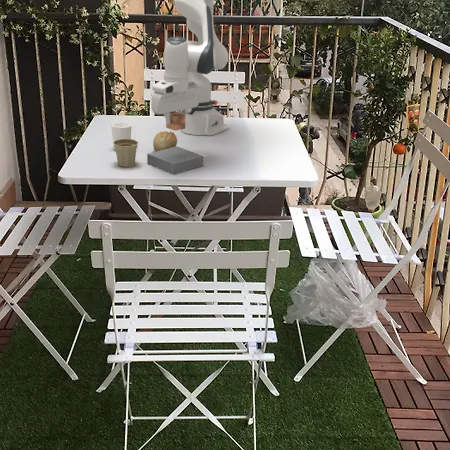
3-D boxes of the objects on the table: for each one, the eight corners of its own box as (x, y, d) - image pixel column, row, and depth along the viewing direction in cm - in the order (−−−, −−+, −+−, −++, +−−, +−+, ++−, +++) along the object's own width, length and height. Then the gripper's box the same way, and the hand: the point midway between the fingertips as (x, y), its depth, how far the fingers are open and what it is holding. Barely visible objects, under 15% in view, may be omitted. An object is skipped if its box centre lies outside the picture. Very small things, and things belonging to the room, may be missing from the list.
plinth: (176, 155, 233) (177, 146, 231) (203, 165, 224) (203, 155, 222) (147, 163, 223) (147, 153, 222) (173, 174, 214) (173, 164, 212)
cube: (176, 125, 221) (176, 112, 218) (185, 128, 217) (185, 115, 215) (166, 127, 217) (166, 114, 215) (175, 130, 214) (175, 117, 212)
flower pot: (127, 170, 216) (127, 147, 212) (108, 165, 220) (107, 142, 217) (144, 163, 223) (143, 141, 220) (125, 158, 228) (124, 137, 224)
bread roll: (177, 145, 245) (177, 127, 242) (176, 157, 232) (176, 138, 228) (154, 145, 245) (154, 126, 241) (152, 156, 231) (151, 137, 228)
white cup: (128, 152, 234) (127, 128, 230) (109, 150, 235) (108, 126, 231) (134, 147, 241) (134, 123, 237) (116, 145, 242) (115, 121, 238)
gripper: (191, 79, 219) (190, 116, 225) (148, 86, 206) (148, 124, 212) (203, 82, 215) (201, 119, 221) (160, 89, 202) (160, 128, 208)
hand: (175, 122), depth 216 cm, fingers closed on cube, 5 cm apart
